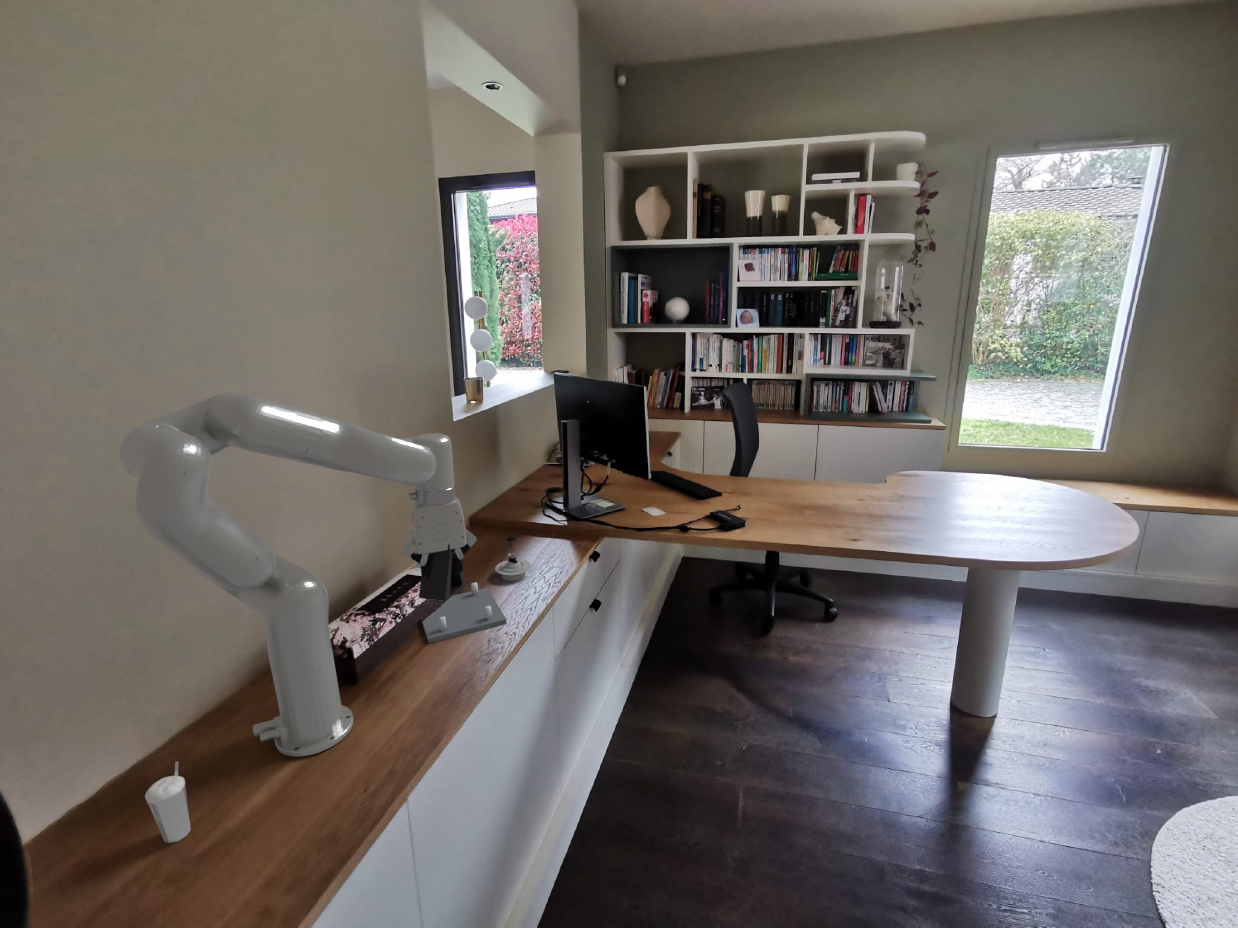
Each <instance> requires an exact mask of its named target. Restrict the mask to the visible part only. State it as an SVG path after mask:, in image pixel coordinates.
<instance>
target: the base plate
mask: <svg viewBox="0 0 1238 928" xmlns="http://www.w3.org/2000/svg"><path fill="white" fill-rule="evenodd" d="M478 586H479V585H478V582H472V583H471V584H470V588H471V591H467V592H463V593H457V594H454V595H453V596H452V597H451V598H449V599H448V600H447V601H446V602H445V603H444V604H442V605H441V607H439V608H438V609H437V610H436V611H435V612H433V613H432V614H431V615H430V616H428V617H427V618H426V619H425V620H424V621H423V622H422V621H421V620H420V622H421V625H422V627H423V630H424V633H425V636H426V639H427V642H428V644H432V643H436V642H441V641H443V640H447V639H448V640H449V639H451V638H455V637H459V636H463V635H467V634H471V633H475V632H479V631H483V630H487V629H491V628H495V627H499V626H503V625H506V624H507V622H508V621H507V618H506V616H505V614H504V613H503V611H502V609H501V608H500V606H499V604H498V603H497V602H496V600H495V598H494V597H493V595H492V593H491V592H490V590H489V588H488V587H485V588H480V589H479V587H478Z"/></svg>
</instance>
